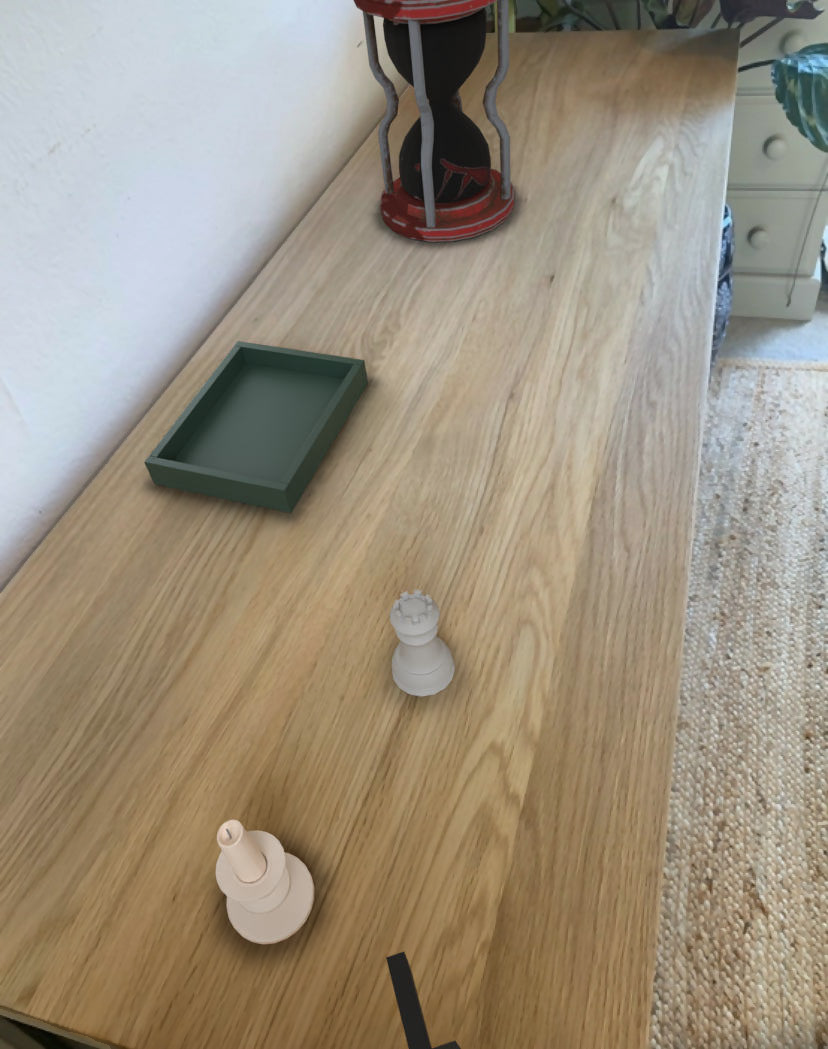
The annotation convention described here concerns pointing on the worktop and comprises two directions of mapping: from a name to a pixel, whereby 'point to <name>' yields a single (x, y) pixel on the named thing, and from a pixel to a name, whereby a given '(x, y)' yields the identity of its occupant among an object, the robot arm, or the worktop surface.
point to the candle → (262, 884)
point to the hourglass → (441, 118)
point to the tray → (259, 425)
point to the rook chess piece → (419, 646)
